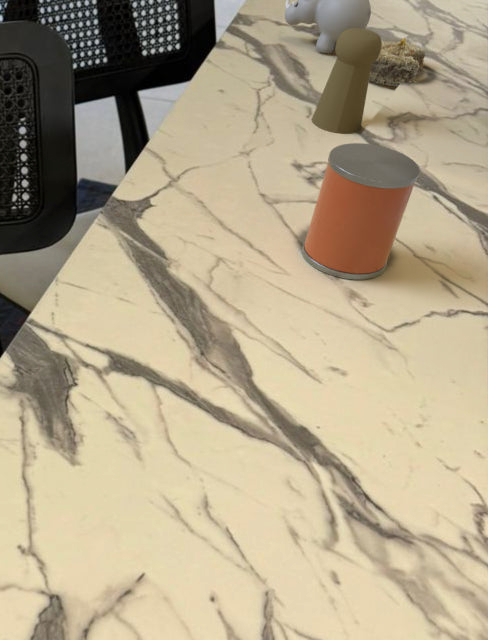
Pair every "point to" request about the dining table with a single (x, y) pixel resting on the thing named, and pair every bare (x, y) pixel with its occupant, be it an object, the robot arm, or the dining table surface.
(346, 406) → the dining table surface
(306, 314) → the dining table surface
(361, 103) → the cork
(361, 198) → the tin can
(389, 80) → the cake
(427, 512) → the dining table surface
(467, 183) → the dining table surface
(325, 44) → the round bodied animal figurine
